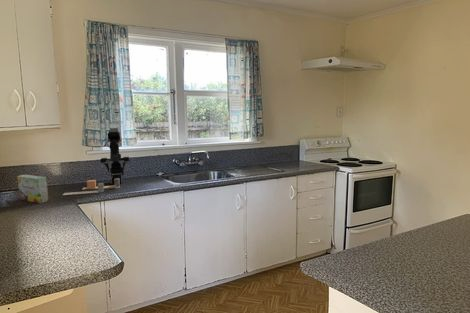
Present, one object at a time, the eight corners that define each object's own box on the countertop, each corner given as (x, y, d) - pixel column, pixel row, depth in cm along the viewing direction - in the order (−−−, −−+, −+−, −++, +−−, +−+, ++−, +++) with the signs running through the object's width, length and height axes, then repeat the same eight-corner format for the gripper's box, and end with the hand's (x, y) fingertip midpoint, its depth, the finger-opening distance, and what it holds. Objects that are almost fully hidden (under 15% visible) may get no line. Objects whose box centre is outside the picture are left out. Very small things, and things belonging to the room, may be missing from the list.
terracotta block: (96, 186, 230) (95, 179, 229) (95, 188, 225) (94, 181, 225) (88, 187, 229) (88, 180, 228) (87, 189, 224) (86, 181, 223)
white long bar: (104, 191, 220) (103, 182, 219) (103, 193, 214) (102, 184, 213) (64, 194, 214) (63, 185, 213) (62, 196, 208) (61, 187, 207)
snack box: (19, 200, 202) (16, 175, 200) (28, 197, 207) (25, 174, 205) (40, 203, 192) (37, 178, 190) (49, 201, 197) (47, 176, 195)
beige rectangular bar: (119, 186, 235) (119, 178, 234) (119, 187, 229) (118, 179, 228) (83, 188, 228) (82, 180, 228) (81, 190, 223) (81, 182, 222)
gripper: (98, 151, 218) (100, 174, 220) (128, 150, 223) (129, 172, 225) (100, 149, 229) (102, 172, 231) (128, 148, 233) (130, 170, 235)
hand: (116, 171), depth 230 cm, fingers open, 9 cm apart
